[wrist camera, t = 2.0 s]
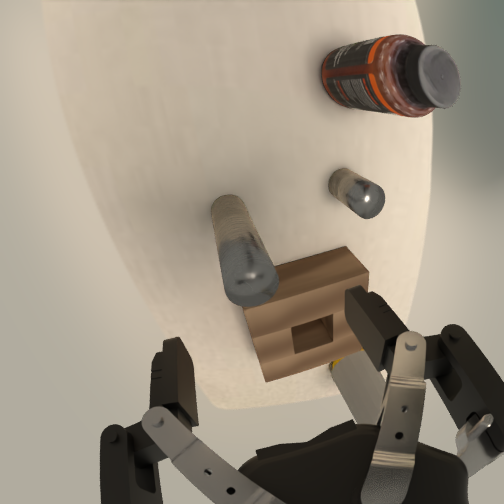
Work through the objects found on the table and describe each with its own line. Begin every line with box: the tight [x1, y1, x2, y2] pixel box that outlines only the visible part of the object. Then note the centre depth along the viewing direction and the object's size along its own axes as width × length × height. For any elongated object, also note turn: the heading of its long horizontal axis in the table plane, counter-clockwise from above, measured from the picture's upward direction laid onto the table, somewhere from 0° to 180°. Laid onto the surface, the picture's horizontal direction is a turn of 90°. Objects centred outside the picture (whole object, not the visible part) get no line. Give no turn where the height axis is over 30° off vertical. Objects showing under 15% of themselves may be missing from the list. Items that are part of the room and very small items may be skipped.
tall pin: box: [211, 195, 279, 307], centre depth 20 cm, size 3×3×11 cm
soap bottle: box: [331, 349, 386, 424], centre depth 33 cm, size 7×7×18 cm
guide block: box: [242, 246, 369, 382], centre depth 30 cm, size 12×12×5 cm
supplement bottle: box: [322, 35, 461, 117], centre depth 16 cm, size 6×6×11 cm
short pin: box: [329, 168, 385, 219], centre depth 23 cm, size 3×3×5 cm
